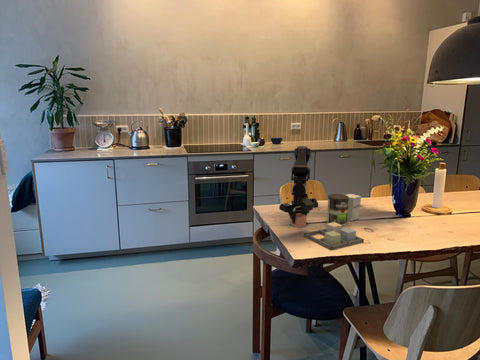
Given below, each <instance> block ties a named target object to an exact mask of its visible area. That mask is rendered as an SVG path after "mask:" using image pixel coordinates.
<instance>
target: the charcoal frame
mask: <svg viewBox="0 0 480 360" xmlns="http://www.w3.org/2000/svg"><path fill="white" fill-rule="evenodd" d="M316 235H322V236H324V237H322V238H321V237H320V238H317V237H315V236H316ZM303 237H304V238H306V239H308V240H310V241H312V242H314V243H316V244H318V245H320V246H322V247H323V248H326V249H327V250H329V251H334V250H338V249H342V248H345V247H350V246H353V245H359V244H362V243H364V240H365V239H364V238H361V237H360V236H357V230H356V229H352V228H350V227H345V228H343V226H342V225H340V224H338V223H335V222H333V223H326V227H325V228H322V229H317V230H312V231H307V232H303Z"/></svg>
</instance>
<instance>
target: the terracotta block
mask: <svg viewBox="0 0 480 360" xmlns="http://www.w3.org/2000/svg"><path fill="white" fill-rule="evenodd" d="M306 222H307V216H306V215H303V214H301V213H297V214H296V216H295V224H293V223H292V220H291V219H290V225H291V226H293V227H295V228H303V227H304V228H305V227H306V226H307V224H306Z"/></svg>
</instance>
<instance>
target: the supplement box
mask: <svg viewBox="0 0 480 360" xmlns="http://www.w3.org/2000/svg"><path fill="white" fill-rule="evenodd" d="M345 195H346V196H348V197H349V200H348V214H347V221H349V222H352V221H354V220H359V219H360V214H361V213H360V212H361V204H362V203H361V202H362V201H361V199H362V195H357V194H353V193H348V194H345Z"/></svg>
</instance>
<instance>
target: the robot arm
mask: <svg viewBox="0 0 480 360" xmlns="http://www.w3.org/2000/svg"><path fill="white" fill-rule="evenodd" d="M293 151H294V152H293V154H294V155H293V156H294V158H295V161H294V163H293V166H292V167H291V177H290V178H291V179H290V180H291V181H293V185H292V189H291V190H292V191H291V196H293V197H292V200H291V201H290V203H287V202H285V203H280V205H279V210H280V211H281V212H284V213H288V214H287V215H289V218H290V221H291V220H292V223H293V224H295V216H296V214H297V213H301V214H303V215H306V217H307V216H308V214H309V213H310V212H311V211H312V210H313V209H315V208H319V202H318V201H317V199H316V198H314V197H312V198H309V194H308V193H307V182H309V180H310V179H311V169H310V167H309V166H308V164H309V163H310V159H311V157H312V149H311V148H308V146H304V145H299V146H297V147H295V148H294V150H293ZM306 225H309V222H307V221H306Z"/></svg>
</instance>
